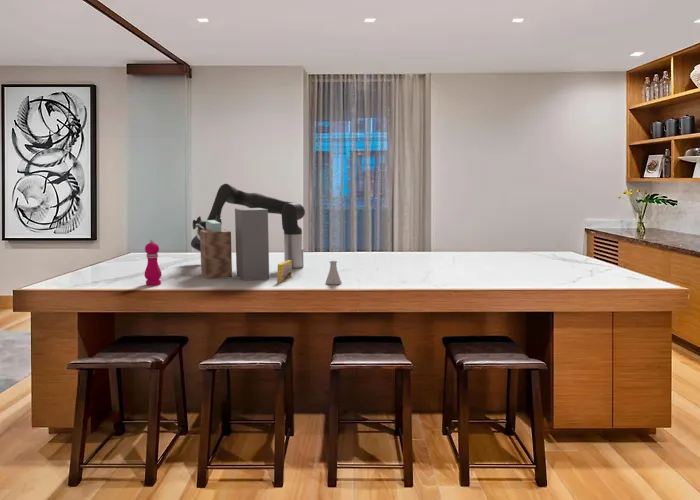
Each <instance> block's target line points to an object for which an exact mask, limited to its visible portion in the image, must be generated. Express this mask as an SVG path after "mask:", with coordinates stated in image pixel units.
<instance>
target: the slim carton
mask: <svg viewBox="0 0 700 500" xmlns="http://www.w3.org/2000/svg"><path fill="white" fill-rule="evenodd" d="M205 221H206V229H208V230H210V231H212V232H221V229H222V225H221V223H220V222H217V221H215V220H207V219H206V220H205Z"/></svg>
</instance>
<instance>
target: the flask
mask: <svg viewBox="0 0 700 500" xmlns="http://www.w3.org/2000/svg"><path fill="white" fill-rule="evenodd" d="M337 263H338V261H337V260H330V261H329V265H330V267H329V272H328V273H327V277H326V280H325V285H329V286H330V285H332V286H334V285H341V284H342V280H341V277H340V275H339V272H338V267H337Z"/></svg>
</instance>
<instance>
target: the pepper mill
mask: <svg viewBox="0 0 700 500" xmlns="http://www.w3.org/2000/svg"><path fill="white" fill-rule="evenodd" d="M144 252H145V253H146V254H145V255H146V260H147V264H146V267H145V270H144V277H145V279H146V280H145V285H146V286H153V287H154V286H160V285H161V284H162V280H161V277H162V276H163V275H162V270H161V268H160V266H159V263H158V258H159V253H158V252H160V246H159V245H158V244H157V242H156V243H155V240H154V239H150V240H149V243H147V244H145V247H144Z"/></svg>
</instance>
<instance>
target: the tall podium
mask: <svg viewBox="0 0 700 500" xmlns="http://www.w3.org/2000/svg"><path fill="white" fill-rule="evenodd" d="M234 220H235V221H234V224H235V225H234V226H235V231H234V232H235V258H236V259H235V260H236V262H235V264H236V265H235V268H236V269H235V270H236V276H237V277H238V278H239V277H240V278H239V279H241V280H242V281H243V280H244V281H258V279H260V280H270V255H269V254H270V253H269V252H270V250H269V249H270V248H269V213H268V210H267V209H263V208H248V207H247V208H246V207H245V208H244V207H243V208H237V207H236V208H234Z"/></svg>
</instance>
